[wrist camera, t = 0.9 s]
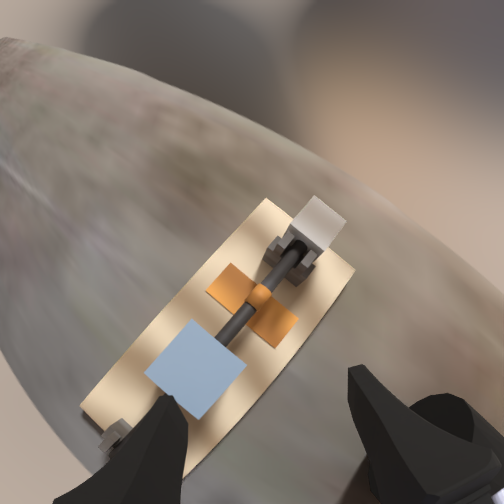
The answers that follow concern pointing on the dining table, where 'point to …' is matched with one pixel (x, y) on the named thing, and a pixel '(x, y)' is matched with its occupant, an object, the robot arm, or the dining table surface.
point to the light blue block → (195, 369)
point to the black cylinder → (458, 430)
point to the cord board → (233, 321)
